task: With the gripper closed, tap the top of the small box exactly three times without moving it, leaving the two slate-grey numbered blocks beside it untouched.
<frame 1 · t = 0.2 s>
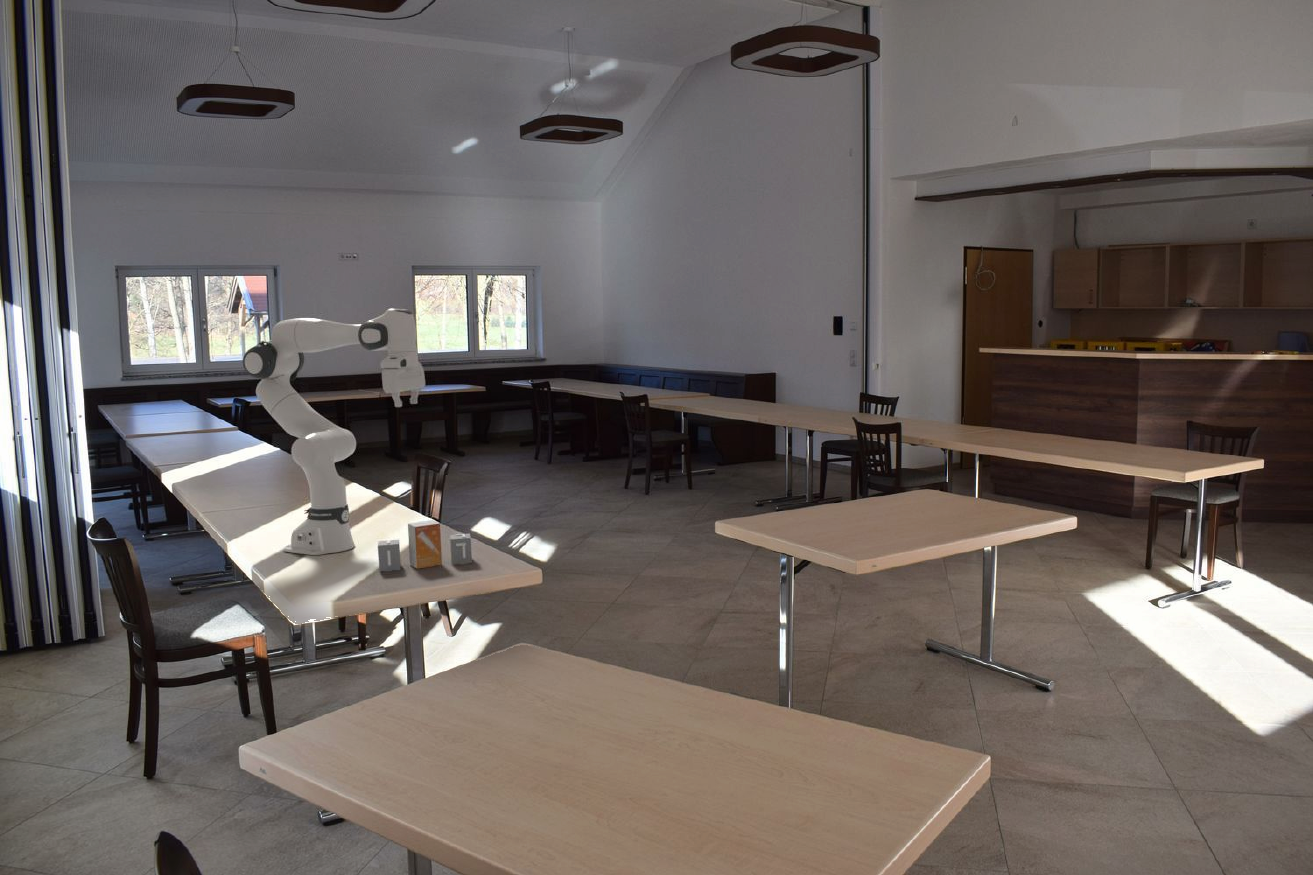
hand: (406, 405, 303), 47 cm above the table, tool pointing down, fingers open, 8 cm apart
numbered block one: (390, 568, 292), on the table
numbered block seven: (461, 561, 297), on the table
small box: (426, 565, 295), on the table
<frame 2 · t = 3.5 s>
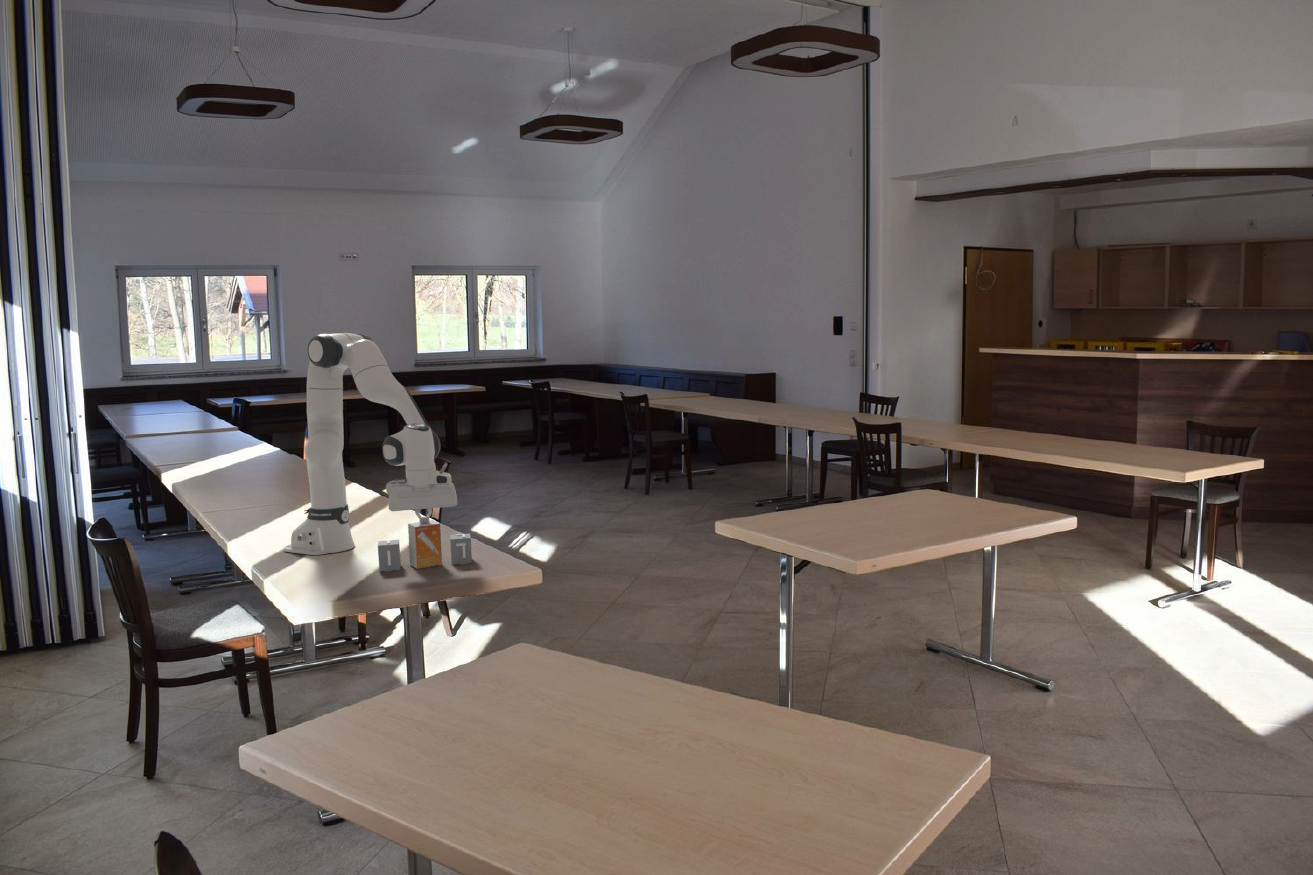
hand: (424, 523, 293), 13 cm above the table, tool pointing down, fingers closed, pressing on small box
small box: (426, 565, 295), on the table, touching gripper
everything else where it was.
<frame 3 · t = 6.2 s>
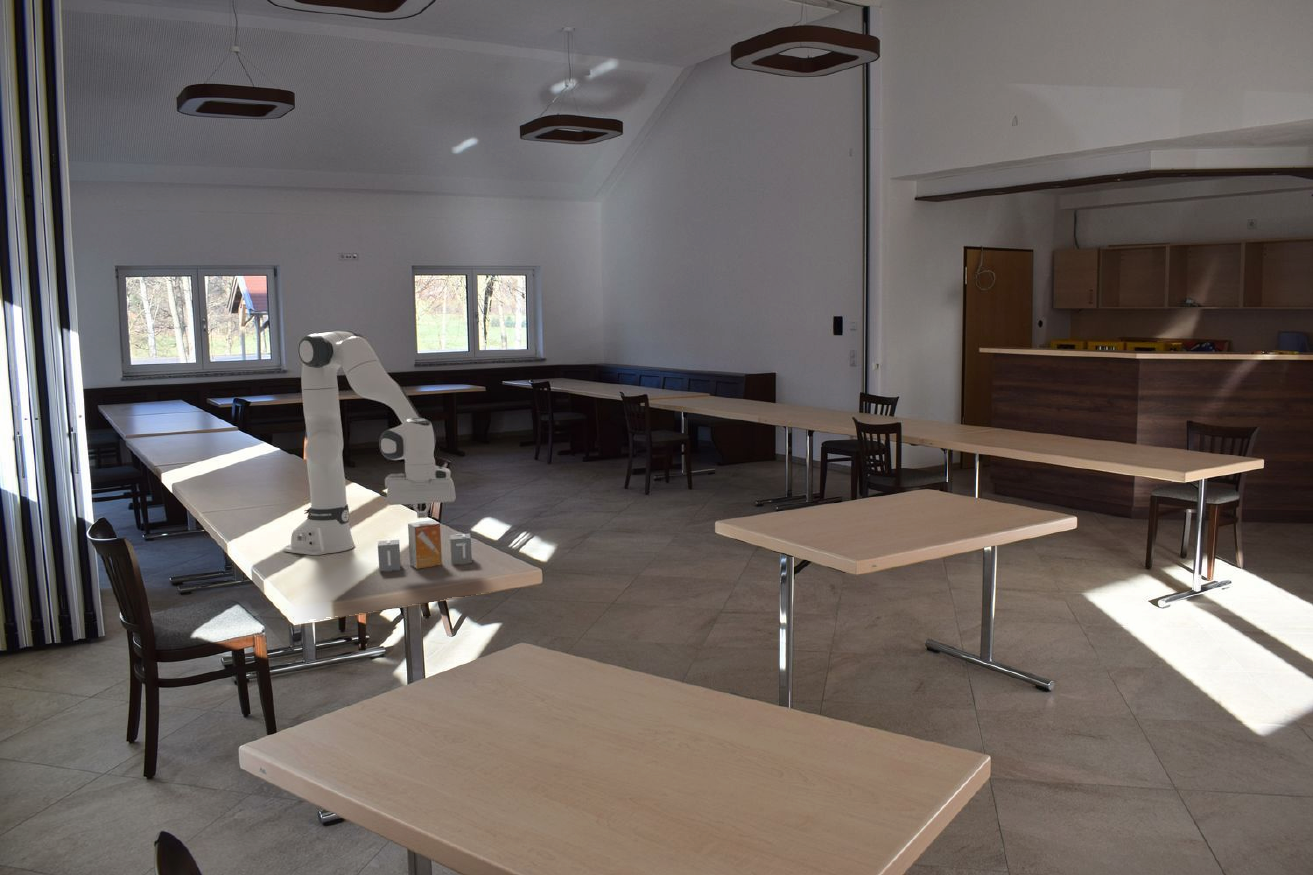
hand: (422, 517, 293), 15 cm above the table, tool pointing down, fingers closed
small box: (426, 565, 295), on the table
everything else where it was.
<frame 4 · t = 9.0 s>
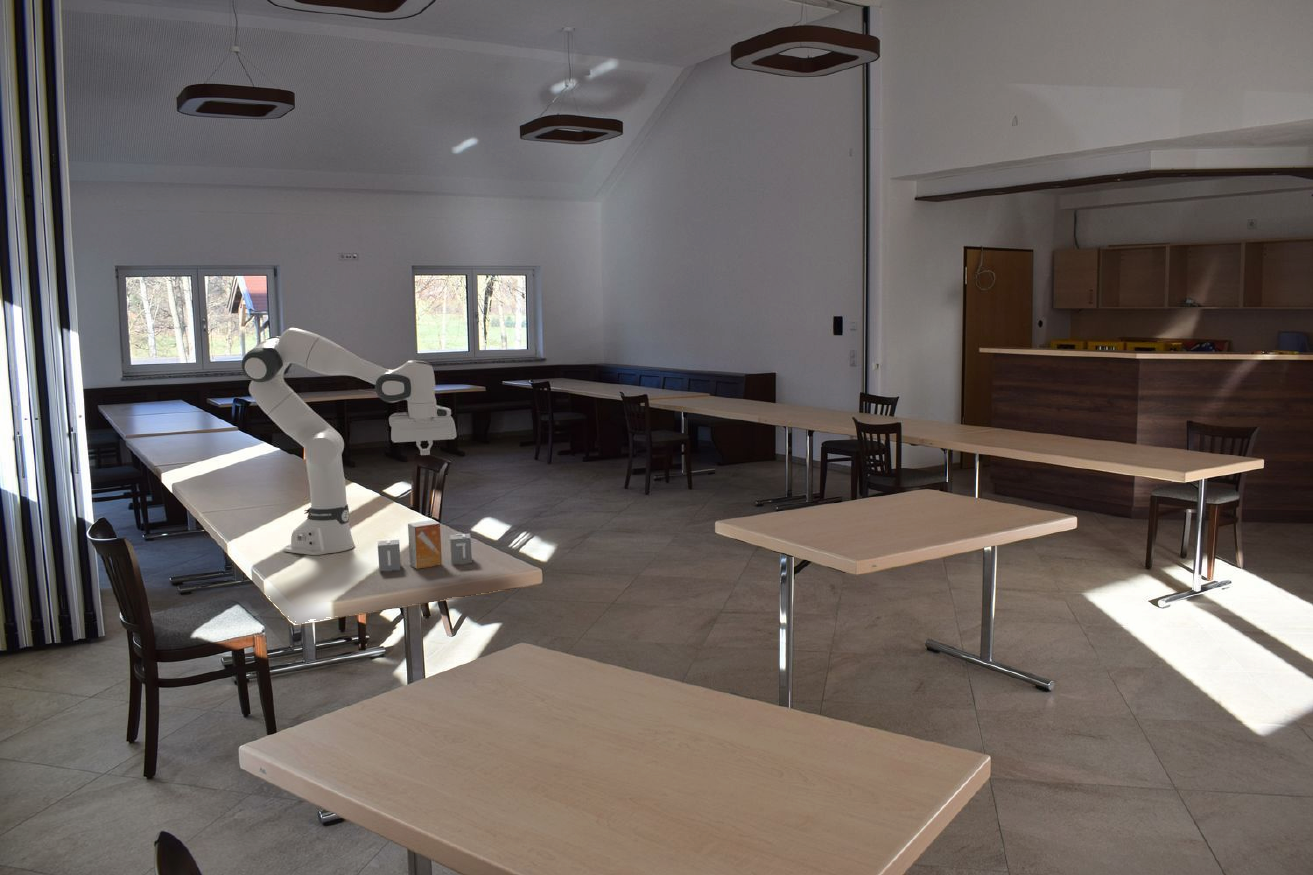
hand: (425, 454, 309), 31 cm above the table, tool pointing down, fingers closed
nothing on the table moved.
at the end: small box moved 0.2 cm from its start; small box tilted 0°; numbered block seven moved 0.1 cm from its start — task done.
